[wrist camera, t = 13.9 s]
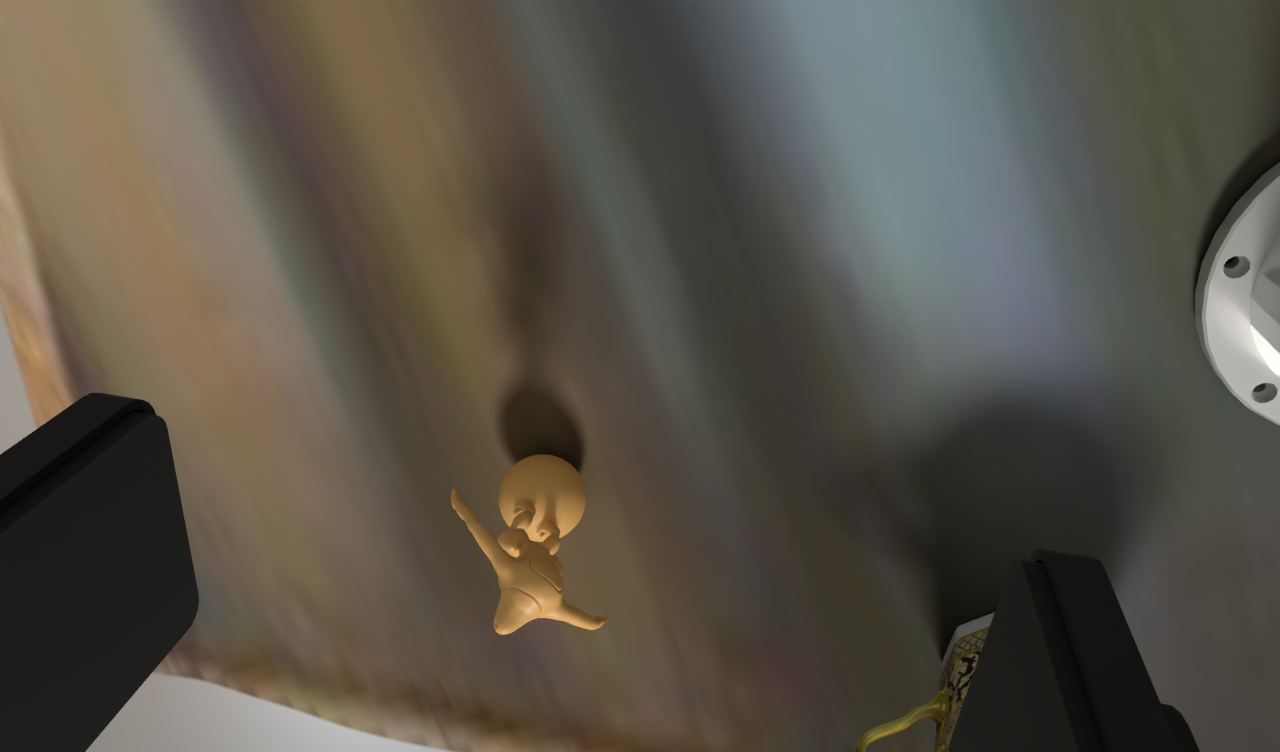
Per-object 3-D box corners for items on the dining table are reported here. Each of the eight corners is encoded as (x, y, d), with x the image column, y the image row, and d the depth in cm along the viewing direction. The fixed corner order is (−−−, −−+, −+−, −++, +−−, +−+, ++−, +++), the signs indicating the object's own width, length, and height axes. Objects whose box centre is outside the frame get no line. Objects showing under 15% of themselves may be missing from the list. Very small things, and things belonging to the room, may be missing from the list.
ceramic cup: (1163, 606, 42) (1252, 793, 34) (1080, 753, 47) (1139, 951, 38) (878, 541, 43) (893, 707, 35) (825, 692, 48) (827, 872, 39)
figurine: (462, 440, 45) (353, 611, 34) (542, 365, 42) (450, 525, 32) (589, 549, 46) (522, 743, 36) (673, 483, 44) (627, 672, 33)
